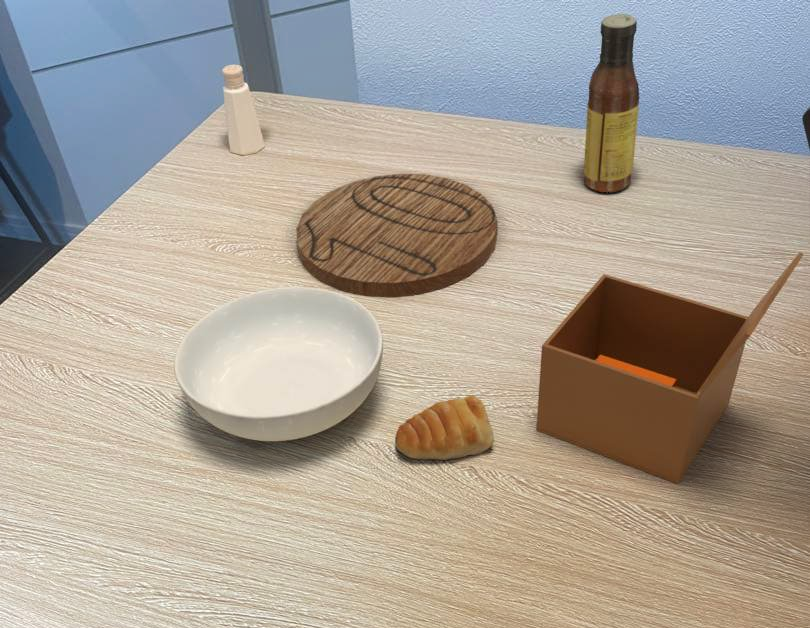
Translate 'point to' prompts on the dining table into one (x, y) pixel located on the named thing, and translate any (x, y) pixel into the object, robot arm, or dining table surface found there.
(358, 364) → the serving bowl
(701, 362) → the carton
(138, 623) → the dining table surface
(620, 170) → the sauce bottle
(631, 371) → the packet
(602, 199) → the dining table surface
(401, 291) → the trivet
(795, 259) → the flap
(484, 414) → the pastry
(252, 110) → the pepper shaker
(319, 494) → the dining table surface
